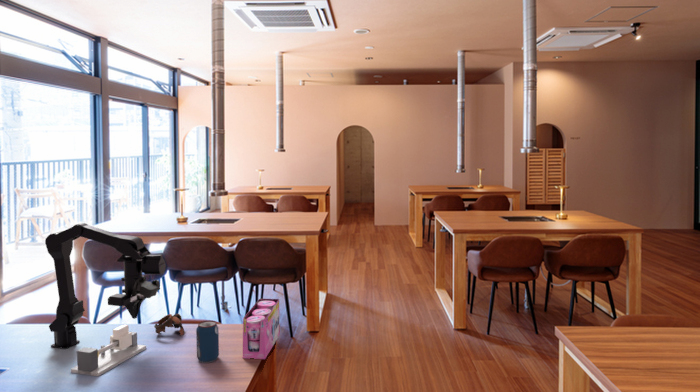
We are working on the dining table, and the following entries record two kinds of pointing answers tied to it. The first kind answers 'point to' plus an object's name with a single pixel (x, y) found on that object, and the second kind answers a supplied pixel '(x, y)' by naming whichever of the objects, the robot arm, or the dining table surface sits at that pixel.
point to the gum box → (261, 328)
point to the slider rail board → (104, 357)
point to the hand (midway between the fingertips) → (134, 318)
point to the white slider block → (121, 337)
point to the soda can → (207, 341)
